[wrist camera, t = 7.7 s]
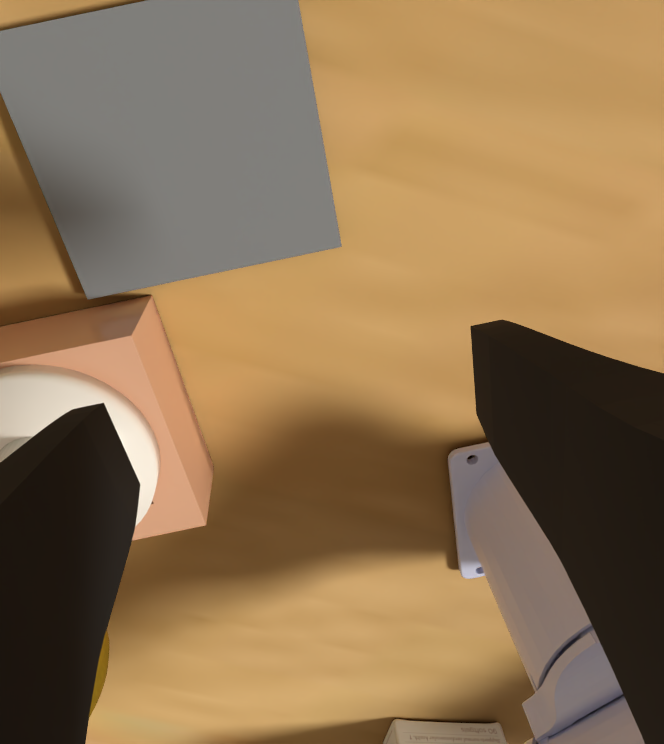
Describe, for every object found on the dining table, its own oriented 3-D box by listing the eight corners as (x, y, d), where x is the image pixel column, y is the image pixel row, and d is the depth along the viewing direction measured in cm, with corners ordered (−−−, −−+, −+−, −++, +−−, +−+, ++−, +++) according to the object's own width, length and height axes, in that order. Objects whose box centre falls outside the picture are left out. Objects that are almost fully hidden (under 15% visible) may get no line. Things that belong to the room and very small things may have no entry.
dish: (152, 295, 20) (131, 335, 17) (214, 467, 24) (206, 525, 21) (-66, 340, 20) (-124, 388, 17) (31, 505, 24) (-3, 568, 21)
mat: (292, -27, 16) (292, -30, 16) (339, 241, 20) (341, 246, 20) (-14, 36, 16) (-24, 35, 16) (92, 293, 20) (87, 299, 20)
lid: (130, 350, 18) (77, 457, 13) (181, 518, 21) (155, 653, 16) (-101, 380, 17) (-242, 502, 13) (-11, 546, 21) (-96, 692, 16)
